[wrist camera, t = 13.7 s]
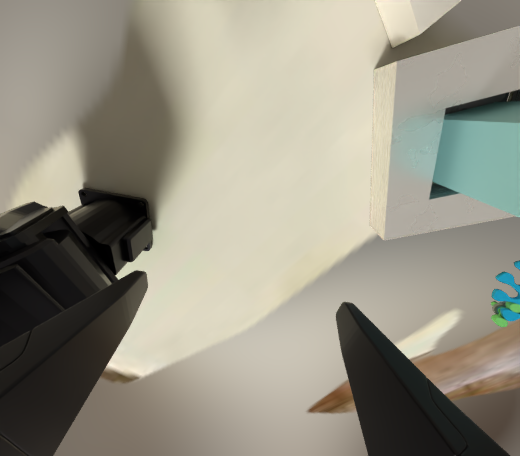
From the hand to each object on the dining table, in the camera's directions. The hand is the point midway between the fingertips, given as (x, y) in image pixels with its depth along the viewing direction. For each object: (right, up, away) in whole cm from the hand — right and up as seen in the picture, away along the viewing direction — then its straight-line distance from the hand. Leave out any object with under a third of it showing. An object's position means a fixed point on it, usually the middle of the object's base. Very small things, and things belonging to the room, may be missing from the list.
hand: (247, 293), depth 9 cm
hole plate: (+18, +11, +9) cm, 22 cm away
